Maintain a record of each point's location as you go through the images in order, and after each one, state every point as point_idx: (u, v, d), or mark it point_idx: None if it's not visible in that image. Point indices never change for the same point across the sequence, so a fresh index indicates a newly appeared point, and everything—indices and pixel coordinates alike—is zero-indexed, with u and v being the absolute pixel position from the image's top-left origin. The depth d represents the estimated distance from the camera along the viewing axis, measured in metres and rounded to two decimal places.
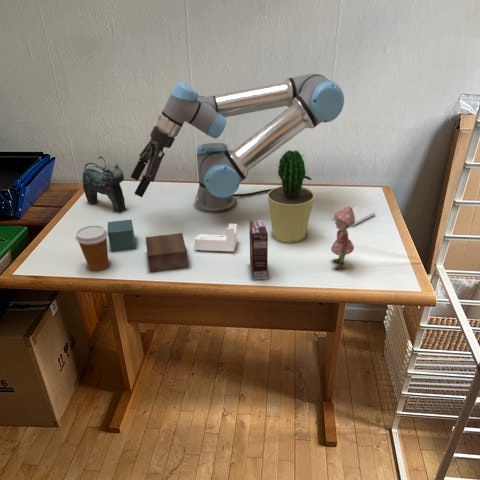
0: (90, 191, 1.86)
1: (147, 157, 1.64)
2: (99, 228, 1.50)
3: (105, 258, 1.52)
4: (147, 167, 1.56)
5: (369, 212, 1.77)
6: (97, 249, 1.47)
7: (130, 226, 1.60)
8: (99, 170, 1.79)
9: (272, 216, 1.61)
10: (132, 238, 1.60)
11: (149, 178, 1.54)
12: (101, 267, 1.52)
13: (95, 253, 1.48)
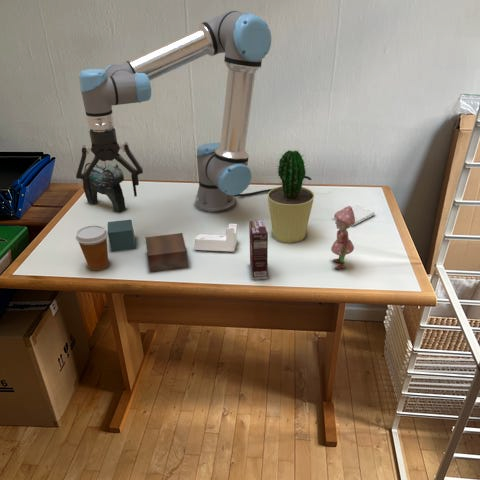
0: None
1: None
2: (99, 228, 1.50)
3: (105, 258, 1.52)
4: (126, 167, 1.49)
5: (369, 212, 1.77)
6: (97, 249, 1.47)
7: (130, 226, 1.60)
8: (99, 170, 1.79)
9: (272, 216, 1.61)
10: (132, 238, 1.60)
11: (142, 170, 1.51)
12: (101, 267, 1.52)
13: (95, 253, 1.48)
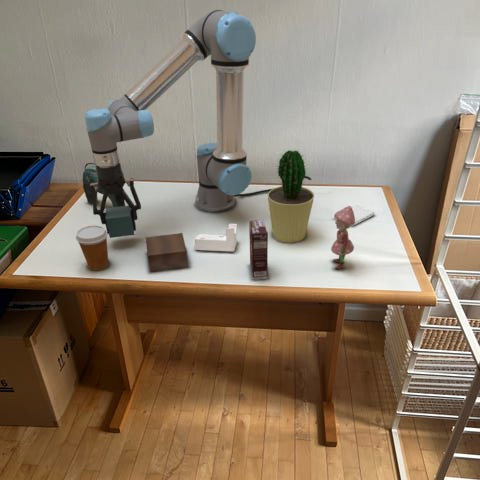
0: (90, 191, 1.86)
1: None
2: (99, 228, 1.50)
3: (105, 258, 1.52)
4: (127, 202, 1.55)
5: (369, 212, 1.77)
6: (97, 249, 1.47)
7: (128, 212, 1.57)
8: None
9: (272, 216, 1.61)
10: (131, 224, 1.57)
11: (140, 206, 1.58)
12: (101, 267, 1.52)
13: (95, 253, 1.48)
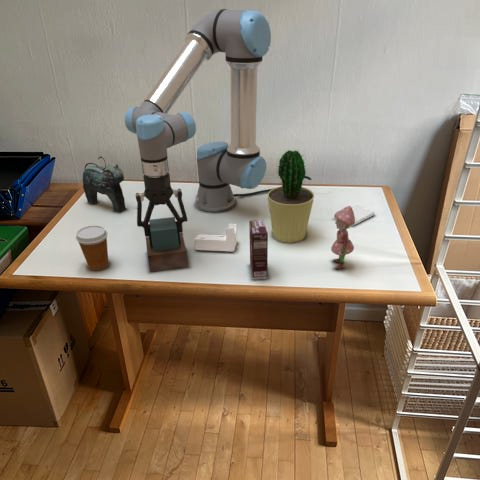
0: (90, 191, 1.86)
1: None
2: (99, 228, 1.50)
3: (105, 258, 1.52)
4: (173, 214, 1.46)
5: (369, 212, 1.77)
6: (97, 249, 1.47)
7: (174, 224, 1.48)
8: (99, 170, 1.79)
9: (272, 216, 1.61)
10: (176, 237, 1.48)
11: None
12: (101, 267, 1.52)
13: (95, 253, 1.48)
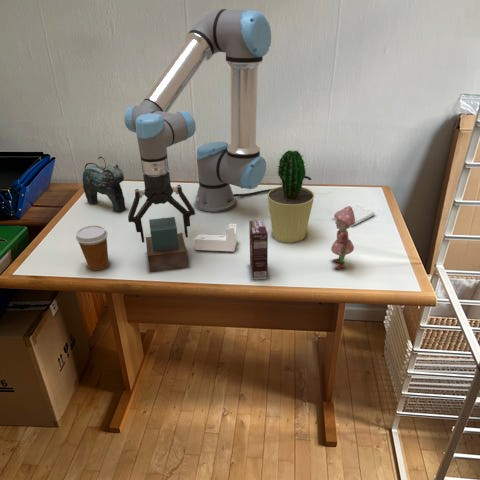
0: (90, 191, 1.86)
1: None
2: (99, 228, 1.50)
3: (105, 258, 1.52)
4: (179, 210, 1.46)
5: (369, 212, 1.77)
6: (97, 249, 1.47)
7: (174, 224, 1.48)
8: (99, 170, 1.79)
9: (272, 216, 1.61)
10: (176, 237, 1.48)
11: (194, 211, 1.48)
12: (101, 267, 1.52)
13: (95, 253, 1.48)
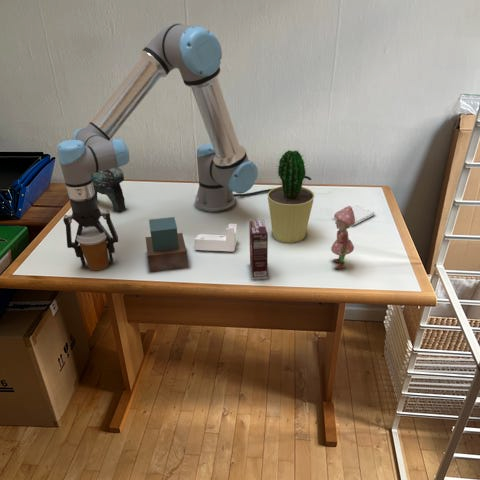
0: None
1: None
2: None
3: (105, 258, 1.52)
4: None
5: (369, 212, 1.77)
6: (97, 249, 1.47)
7: (174, 224, 1.48)
8: None
9: (272, 216, 1.61)
10: (176, 237, 1.48)
11: None
12: (101, 267, 1.52)
13: (95, 253, 1.48)
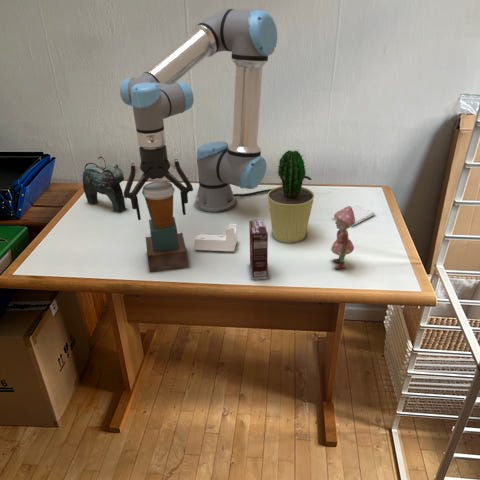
0: (90, 191, 1.86)
1: None
2: (165, 183, 1.43)
3: (171, 215, 1.45)
4: (176, 185, 1.41)
5: (369, 212, 1.77)
6: (165, 205, 1.41)
7: (174, 224, 1.48)
8: (99, 170, 1.79)
9: (272, 216, 1.61)
10: (176, 237, 1.48)
11: None
12: (166, 225, 1.46)
13: (162, 209, 1.41)
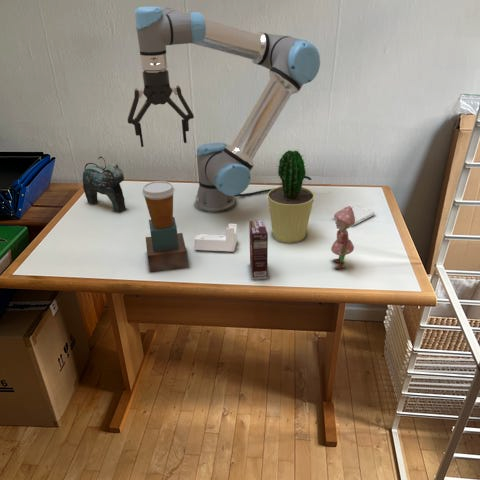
0: (90, 191, 1.86)
1: None
2: (165, 183, 1.43)
3: (171, 215, 1.45)
4: (177, 112, 1.47)
5: (369, 212, 1.77)
6: (165, 205, 1.41)
7: (174, 224, 1.48)
8: (99, 170, 1.79)
9: (272, 216, 1.61)
10: (176, 237, 1.48)
11: (193, 115, 1.50)
12: (166, 225, 1.46)
13: (162, 209, 1.42)
